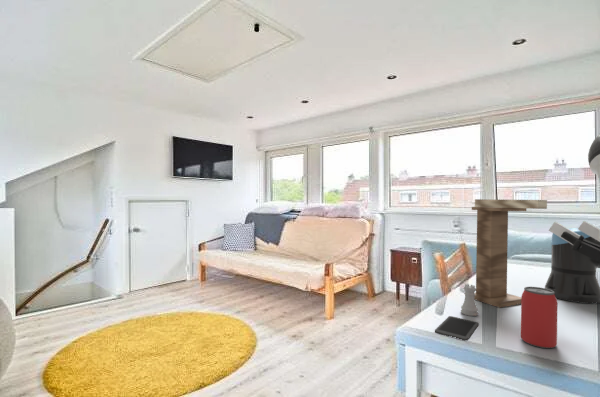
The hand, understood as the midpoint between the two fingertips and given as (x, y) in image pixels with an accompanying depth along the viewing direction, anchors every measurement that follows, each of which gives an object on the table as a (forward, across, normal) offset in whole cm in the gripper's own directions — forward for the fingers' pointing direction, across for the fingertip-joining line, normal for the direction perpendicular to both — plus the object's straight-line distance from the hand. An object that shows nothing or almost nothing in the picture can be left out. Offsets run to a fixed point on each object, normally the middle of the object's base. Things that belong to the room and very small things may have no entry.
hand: (567, 225), depth 87 cm
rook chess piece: (-1, -19, -29) cm, 35 cm away
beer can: (-18, -21, -20) cm, 34 cm away
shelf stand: (+4, 0, -32) cm, 32 cm away
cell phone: (-6, -31, -27) cm, 42 cm away
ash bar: (+16, 0, -4) cm, 17 cm away
